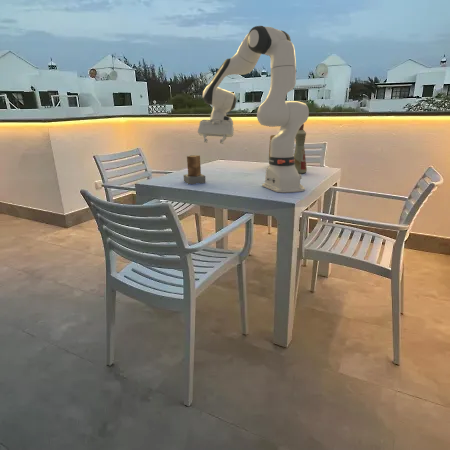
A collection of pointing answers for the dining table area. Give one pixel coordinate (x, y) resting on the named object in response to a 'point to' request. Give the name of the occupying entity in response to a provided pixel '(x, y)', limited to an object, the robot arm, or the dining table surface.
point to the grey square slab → (194, 179)
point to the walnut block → (194, 165)
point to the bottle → (300, 151)
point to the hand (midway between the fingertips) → (213, 142)
